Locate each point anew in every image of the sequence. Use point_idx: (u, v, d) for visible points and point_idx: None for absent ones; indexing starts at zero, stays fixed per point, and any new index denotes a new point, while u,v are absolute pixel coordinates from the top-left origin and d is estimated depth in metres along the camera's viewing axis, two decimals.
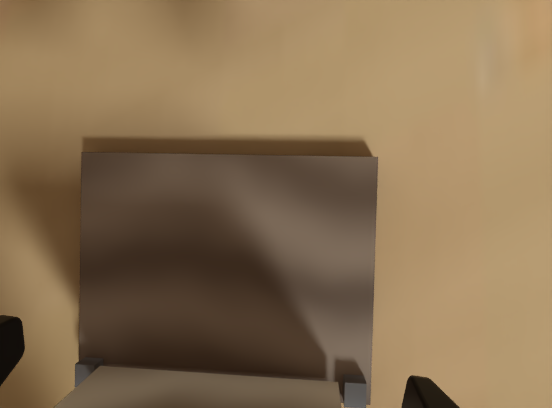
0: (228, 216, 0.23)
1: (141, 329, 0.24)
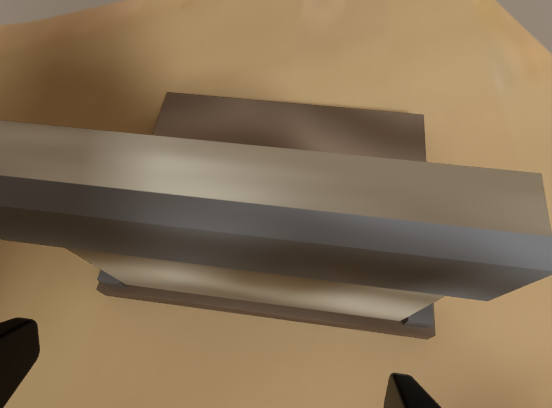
0: (289, 146, 0.25)
1: None
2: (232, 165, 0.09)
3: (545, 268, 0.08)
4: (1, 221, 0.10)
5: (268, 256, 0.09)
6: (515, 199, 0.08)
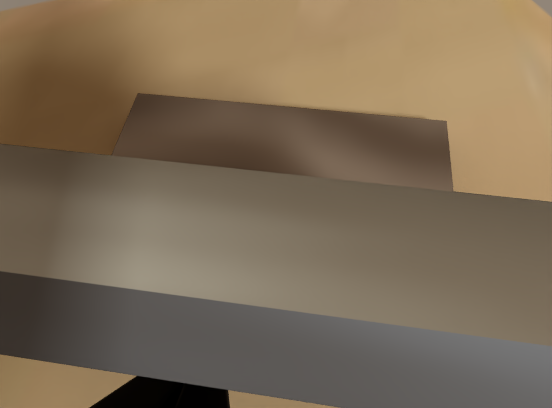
0: (283, 158, 0.20)
1: None
2: (142, 207, 0.04)
3: None
4: None
5: None
6: None
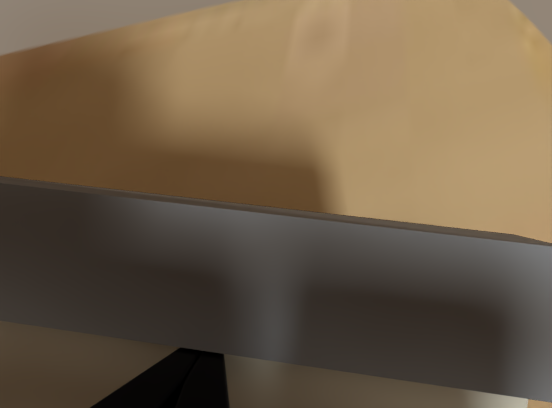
0: None
1: None
2: (235, 204, 0.09)
3: None
4: None
5: (261, 279, 0.08)
6: (501, 235, 0.09)
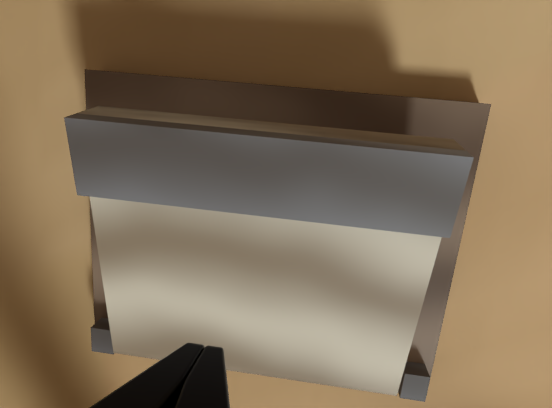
0: None
1: None
2: (270, 125, 0.14)
3: (465, 155, 0.12)
4: (103, 152, 0.14)
5: (289, 177, 0.13)
6: (441, 142, 0.14)
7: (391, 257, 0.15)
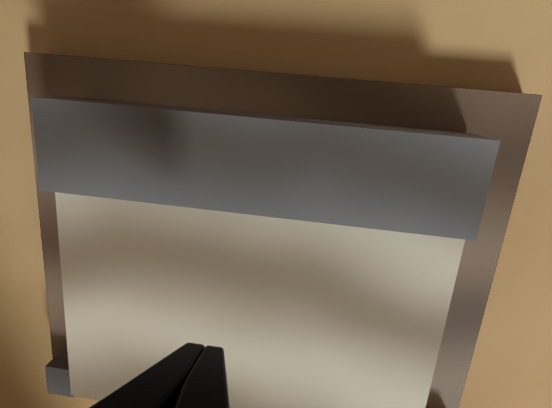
0: None
1: None
2: (265, 115, 0.13)
3: (490, 139, 0.11)
4: (72, 138, 0.12)
5: (287, 166, 0.12)
6: (458, 133, 0.12)
7: (405, 269, 0.13)
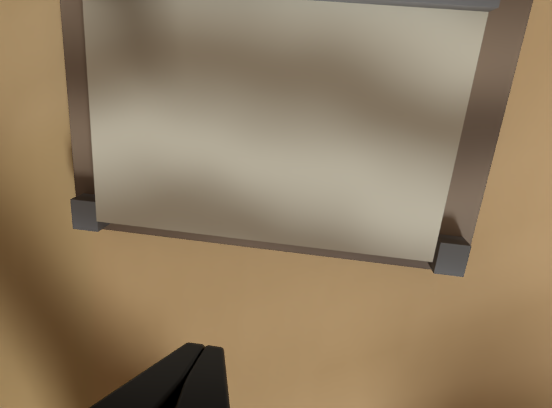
0: None
1: None
2: None
3: None
4: None
5: None
6: None
7: (427, 57, 0.13)
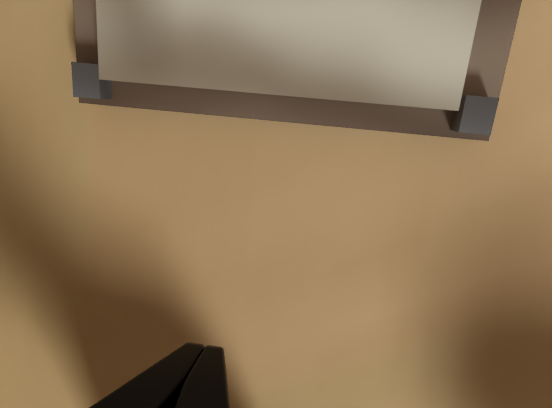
0: None
1: None
2: None
3: None
4: None
5: None
6: None
7: None
